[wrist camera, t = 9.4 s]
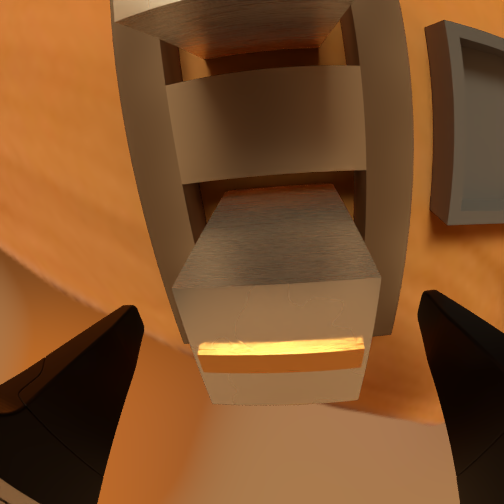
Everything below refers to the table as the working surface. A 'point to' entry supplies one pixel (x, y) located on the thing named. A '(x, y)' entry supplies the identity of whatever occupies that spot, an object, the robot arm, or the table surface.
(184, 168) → the grey flat frame
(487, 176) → the grey tray
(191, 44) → the block
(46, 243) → the table surface
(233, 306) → the block
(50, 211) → the table surface
